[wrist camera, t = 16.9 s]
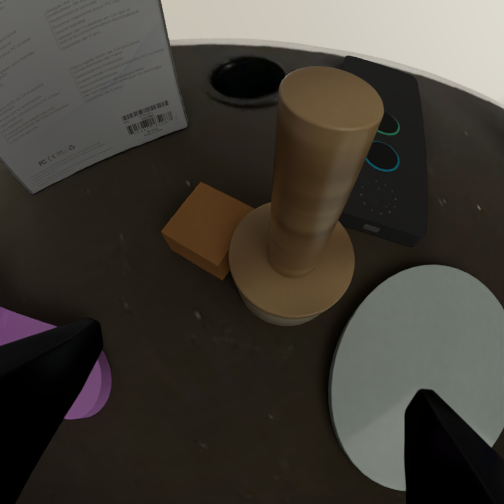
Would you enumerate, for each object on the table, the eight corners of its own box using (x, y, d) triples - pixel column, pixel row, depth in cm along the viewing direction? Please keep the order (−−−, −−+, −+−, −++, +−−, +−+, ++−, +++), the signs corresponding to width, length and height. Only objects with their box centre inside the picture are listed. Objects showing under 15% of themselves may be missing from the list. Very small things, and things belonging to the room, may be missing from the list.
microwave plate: (482, 485, 12) (489, 487, 11) (292, 473, 14) (294, 477, 13) (517, 297, 18) (524, 294, 17) (359, 241, 20) (363, 236, 19)
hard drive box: (171, 83, 27) (135, -100, 8) (191, 129, 24) (147, -111, 6) (34, 143, 24) (-52, -4, 6) (29, 199, 22) (-97, 30, 3)
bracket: (-22, 368, 16) (-85, 351, 9) (-10, 303, 18) (-70, 273, 11) (105, 429, 15) (36, 443, 8) (118, 344, 17) (53, 320, 11)
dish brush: (357, 297, 18) (491, 154, 6) (264, 349, 17) (288, 264, 5) (304, 214, 20) (347, 27, 8) (215, 256, 19) (164, 67, 7)
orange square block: (222, 280, 19) (217, 266, 16) (170, 249, 20) (160, 231, 17) (257, 229, 20) (257, 209, 18) (206, 203, 21) (200, 181, 19)
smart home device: (309, 202, 19) (344, 52, 26) (305, 216, 20) (341, 65, 28) (429, 239, 18) (418, 76, 25) (418, 250, 19) (413, 88, 27)
